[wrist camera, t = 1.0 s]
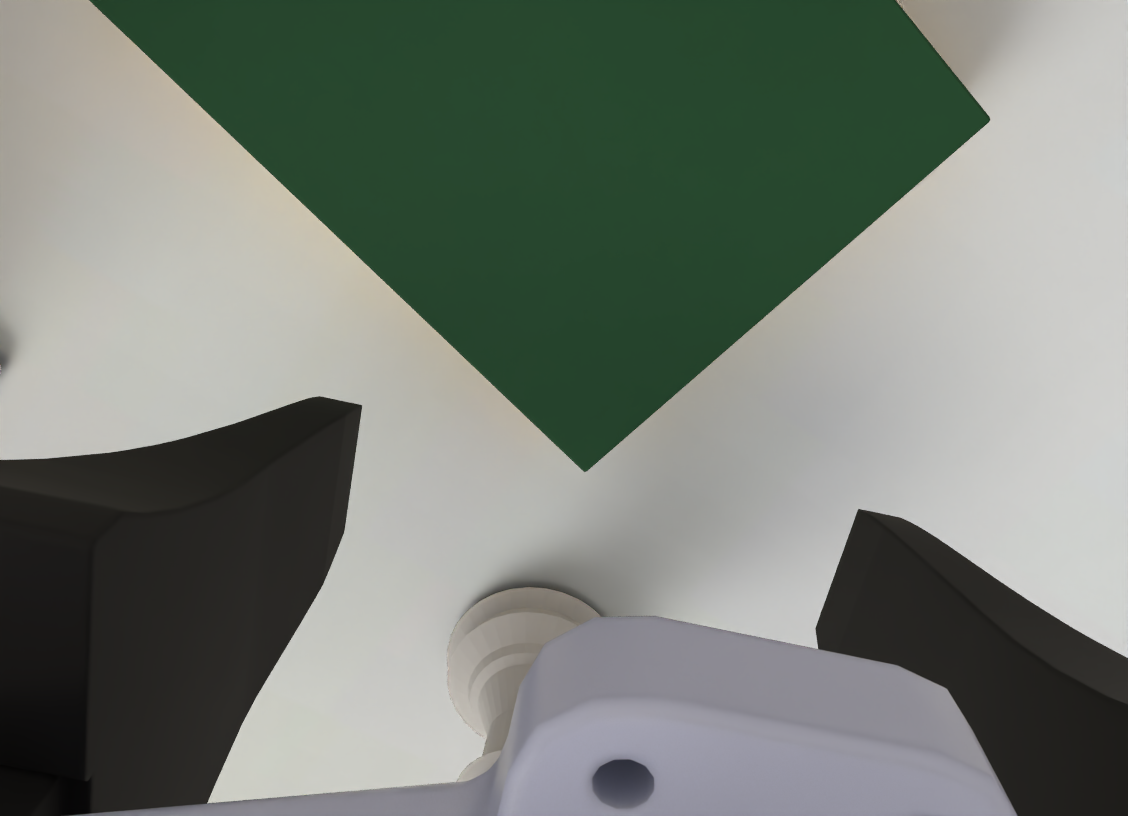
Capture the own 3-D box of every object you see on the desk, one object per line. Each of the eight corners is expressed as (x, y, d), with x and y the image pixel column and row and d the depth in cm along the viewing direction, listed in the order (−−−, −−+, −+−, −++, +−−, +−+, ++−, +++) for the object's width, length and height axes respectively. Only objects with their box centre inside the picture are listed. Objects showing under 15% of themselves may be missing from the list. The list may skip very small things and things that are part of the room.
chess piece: (654, 673, 26) (672, 923, 19) (518, 752, 28) (485, 1016, 20) (551, 549, 25) (527, 764, 18) (413, 637, 26) (336, 873, 19)
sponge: (587, 433, 24) (585, 474, 22) (100, -39, 21) (37, -48, 18) (951, 111, 21) (993, 120, 19) (450, -505, 18) (426, -585, 15)
